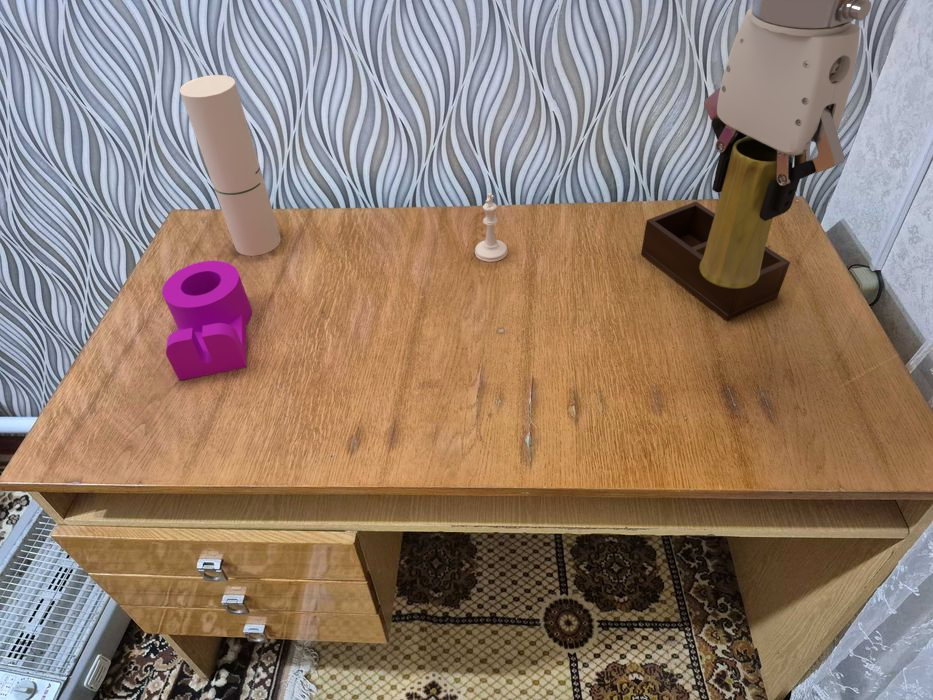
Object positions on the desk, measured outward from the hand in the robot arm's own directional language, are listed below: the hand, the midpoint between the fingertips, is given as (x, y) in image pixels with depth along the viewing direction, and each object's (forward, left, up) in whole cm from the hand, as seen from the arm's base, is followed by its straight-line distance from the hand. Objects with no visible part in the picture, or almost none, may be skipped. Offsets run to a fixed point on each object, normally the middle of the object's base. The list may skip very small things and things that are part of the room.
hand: (748, 199), depth 65 cm
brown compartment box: (+13, -13, -23) cm, 30 cm away
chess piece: (+34, +10, -24) cm, 43 cm away
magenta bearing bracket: (+38, +51, -24) cm, 68 cm away
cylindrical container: (+56, +40, -24) cm, 73 cm away
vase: (0, 0, -9) cm, 9 cm away
